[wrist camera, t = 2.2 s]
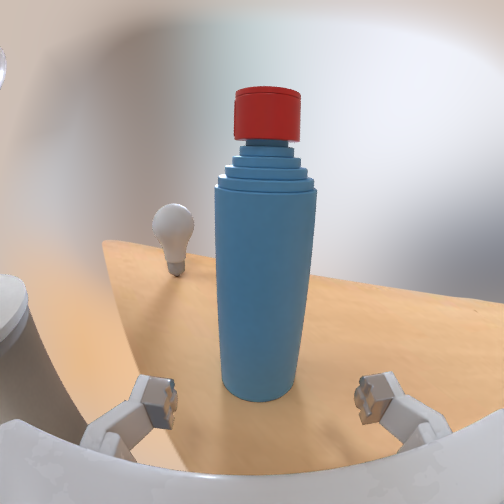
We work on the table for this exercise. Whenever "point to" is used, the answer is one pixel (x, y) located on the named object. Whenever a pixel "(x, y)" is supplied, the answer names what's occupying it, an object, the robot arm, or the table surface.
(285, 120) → the cap
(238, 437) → the table surface
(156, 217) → the lightbulb
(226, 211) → the bottle
